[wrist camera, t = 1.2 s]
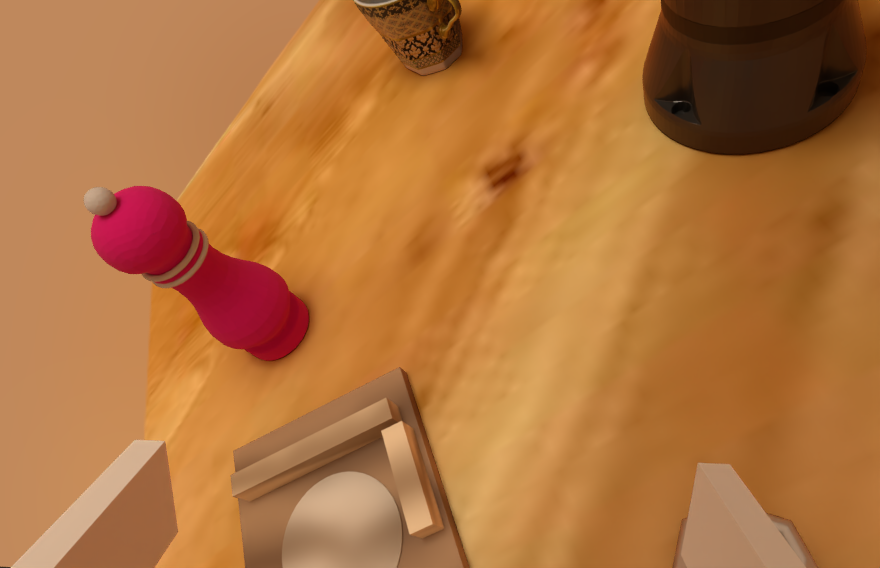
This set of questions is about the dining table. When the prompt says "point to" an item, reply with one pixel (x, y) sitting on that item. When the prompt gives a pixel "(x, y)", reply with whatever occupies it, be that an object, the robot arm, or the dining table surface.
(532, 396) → the dining table surface
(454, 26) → the ceramic cup
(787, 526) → the flask
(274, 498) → the jig board
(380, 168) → the dining table surface
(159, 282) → the pepper mill
